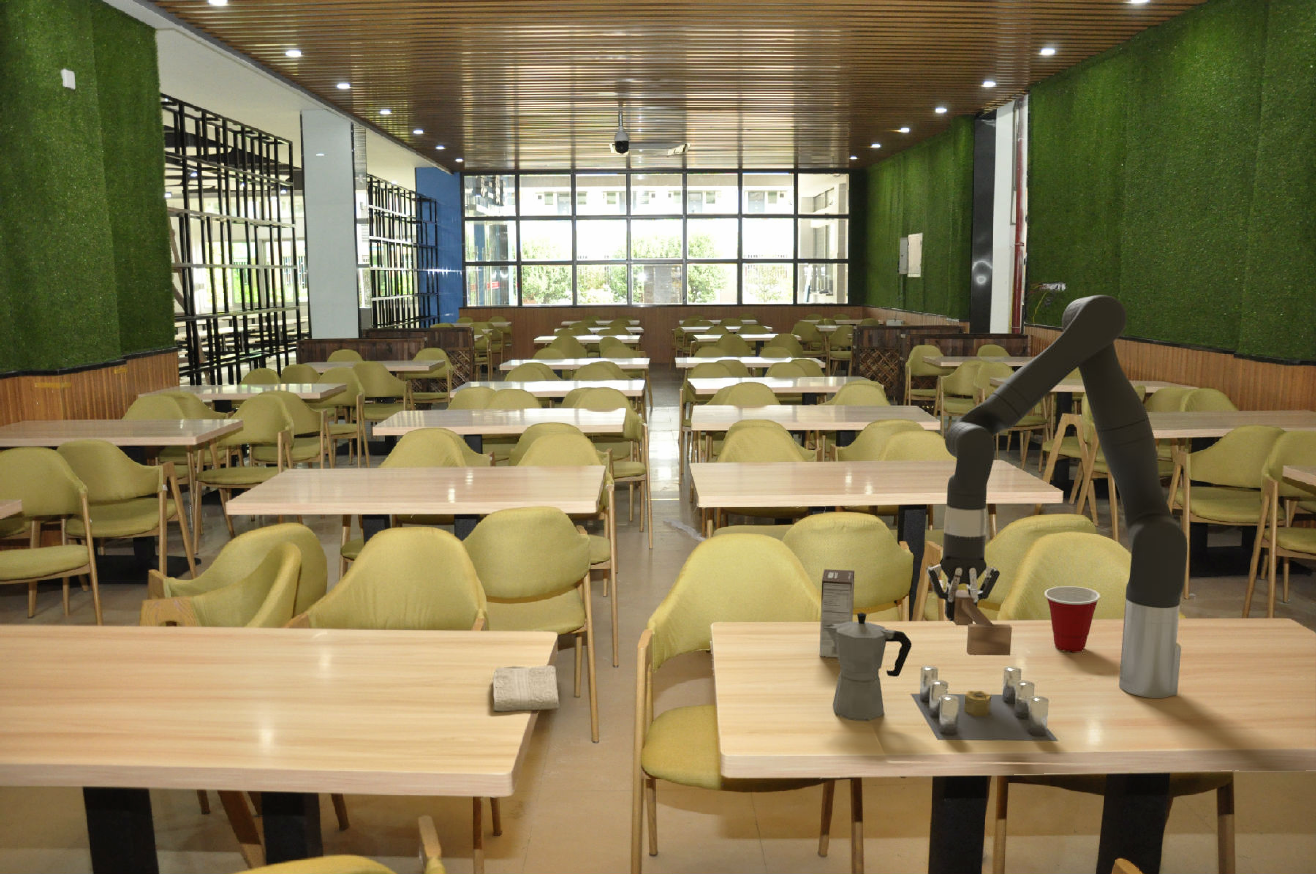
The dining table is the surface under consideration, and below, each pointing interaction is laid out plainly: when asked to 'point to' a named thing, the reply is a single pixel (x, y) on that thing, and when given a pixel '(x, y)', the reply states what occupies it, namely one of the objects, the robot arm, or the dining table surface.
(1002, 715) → the spacer mat
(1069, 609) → the plastic cup
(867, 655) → the coffeepot
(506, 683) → the washcloth
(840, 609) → the coffee box
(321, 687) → the dining table surface
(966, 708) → the brass nut
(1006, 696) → the steel spacers
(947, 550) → the robot arm
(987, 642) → the wooden mallet
